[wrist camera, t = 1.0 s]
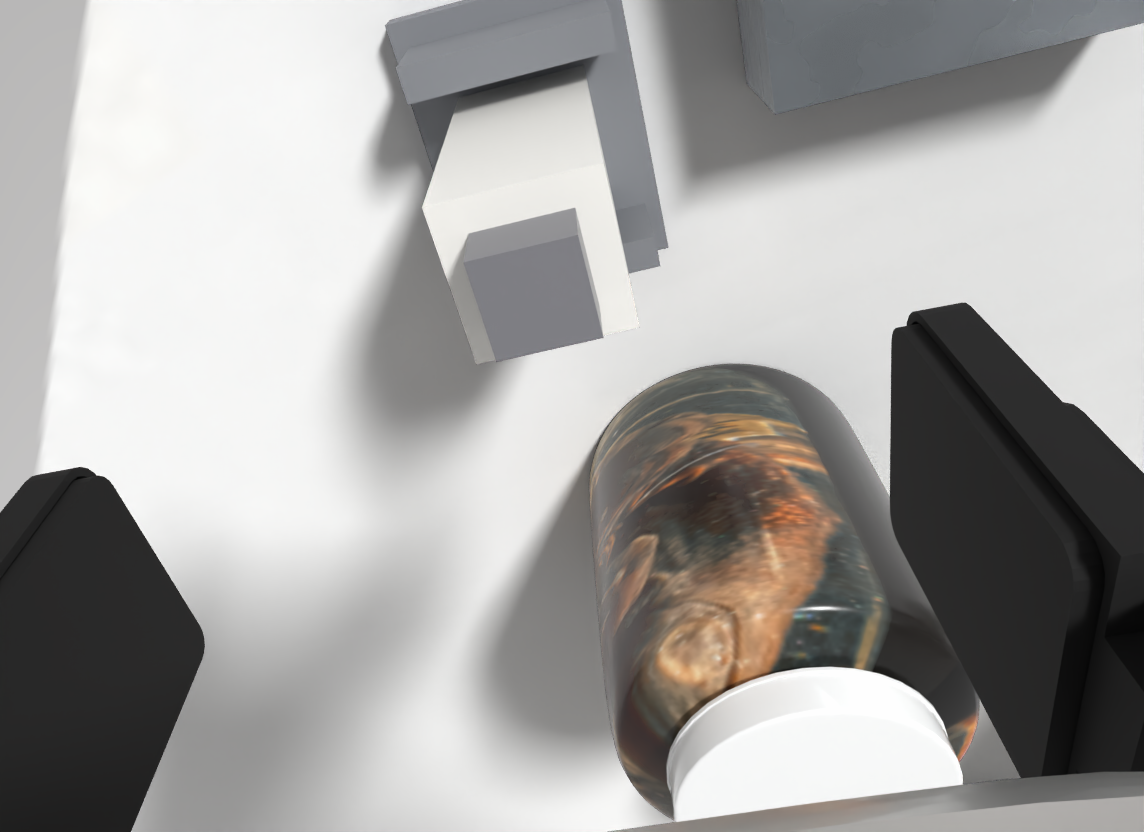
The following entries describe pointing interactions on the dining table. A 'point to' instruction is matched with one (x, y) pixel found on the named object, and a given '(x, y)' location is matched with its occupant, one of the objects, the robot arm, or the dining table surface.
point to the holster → (528, 50)
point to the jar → (762, 605)
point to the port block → (900, 40)
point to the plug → (529, 220)
